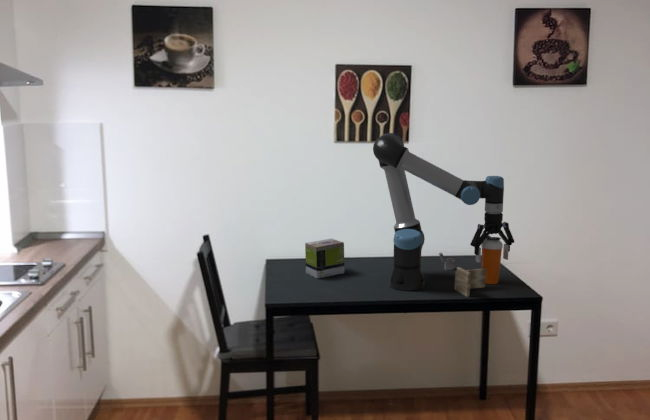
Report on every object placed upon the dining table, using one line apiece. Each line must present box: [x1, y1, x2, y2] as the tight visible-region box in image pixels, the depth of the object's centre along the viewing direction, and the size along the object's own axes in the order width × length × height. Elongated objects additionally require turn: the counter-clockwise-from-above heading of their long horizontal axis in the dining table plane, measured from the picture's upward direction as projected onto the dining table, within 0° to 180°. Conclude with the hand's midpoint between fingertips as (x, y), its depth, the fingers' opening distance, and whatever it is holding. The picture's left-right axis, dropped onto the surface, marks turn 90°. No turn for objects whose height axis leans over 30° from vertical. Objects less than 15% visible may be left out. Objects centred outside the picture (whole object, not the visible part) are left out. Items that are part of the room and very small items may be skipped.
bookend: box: [454, 266, 486, 298], centre depth 266 cm, size 14×10×10 cm
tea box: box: [304, 238, 345, 279], centre depth 290 cm, size 15×10×15 cm, turn 123°
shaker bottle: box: [480, 235, 504, 285], centre depth 279 cm, size 9×9×20 cm
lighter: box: [438, 252, 455, 271], centre depth 299 cm, size 7×2×8 cm, turn 94°
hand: (491, 260), depth 279 cm, fingers open, 13 cm apart
